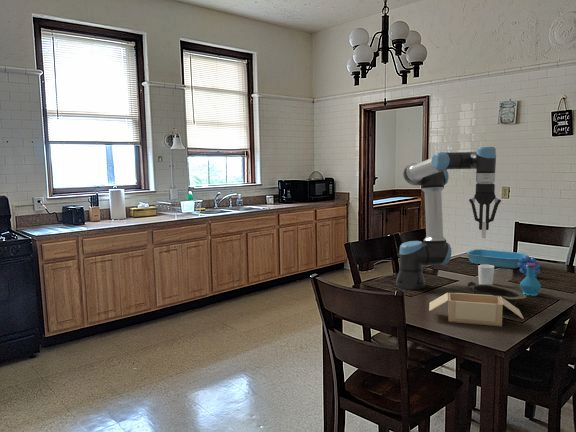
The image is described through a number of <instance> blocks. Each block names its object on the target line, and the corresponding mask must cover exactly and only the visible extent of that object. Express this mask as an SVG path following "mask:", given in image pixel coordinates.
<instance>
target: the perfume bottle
mask: <svg viewBox="0 0 576 432" xmlns="http://www.w3.org/2000/svg"><path fill="white" fill-rule="evenodd" d="M526 265H527V276H526V275H525V276H524V278H523V280H522V281H521V282H520V283H519V287H520V288H521V291H522V293H523V294H526V296H530V295H531V296H533V297H534V296H535V297H536V296H538V294H539V293H540V292H539V291H540V290H541V288H542V284H541V283H540V281H539V280H538V278H537V276H536V277H535V268H536V267H535V266H537V265H536V264H534V263H527V264H526Z"/></svg>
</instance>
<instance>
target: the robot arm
mask: <svg viewBox="0 0 576 432" xmlns="http://www.w3.org/2000/svg"><path fill="white" fill-rule="evenodd" d="M496 162H497V149H496V147H494V146H478V147H477V149H476V151H462V152H459V151H458V152H453V151H452V152H449V151H448V152H445V151H441V152H436V153H434V154H433V155H432V157H431V158H429V159H425V160H423V161H420V162H413V163H410V164H409V165H407V166H405V168H404V169H403V173H402V175H403V179H404V180H405V182H407V183H408V184H410V185H411V186H417V187H418V186H420V187H421V190H422V191H423V193H424V212H425V213H424V214H425V215H424V216H425V233H426V234H425V238H424V239H423V241H420V240H410V241H406V242H403V243H401V244H400V246H399V252H398V254H399V268H398V269H399V271H398V273H397V277H396V280H395V286H396V287H397V288H400V289H405V290H423V289H425V288H426V280H425V278H424V274H423V267H425V266H441V265H446V264H448V263H449V261H450V260H451V258H452V247H451V245H450V243H449V242H447V239H446V237H444V229H443V228H444V226H443V225H444V224H443V223H444V221H443V203H442V202H443V200H442V197H443V196H442V195H443V194H442V192H443V190H444V189H445V185H447V183H448V182H449V172H448V170H475V182H476V184H475V194H474V197H471V198H469V199H468V201H469V204H470V205H471V208H472V209H471V210H472V214H473V218H474V221H475V222H478V230H479V231H481V235H480V236H481V238H482V239H486V236H487V231H489V229H490V226H489V225H490V223H492V222H494V221H495V217H496V214H497V210H498V207H499V205H500V204H501V202H502V200H501V198H498V197H497V196H496V194H495V193H496V192H495V190H496V189H495V188H496V184H495V183H496V165H497V163H496ZM493 201H494V205H493V209H492V212H491V214H490V209H491V208H490V207H491V204H492V202H493ZM476 202H477V203H478V204H479V213H477V209H476V204H475V203H476ZM484 205H485V221H483V218H484V214H483V213H484ZM478 214H479V215H478Z"/></svg>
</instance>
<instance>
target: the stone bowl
mask: <svg viewBox="0 0 576 432" xmlns="http://www.w3.org/2000/svg"><path fill="white" fill-rule="evenodd" d="M465 288H466V289H468V290H471V291H473V292H472V294H481V295H492V296H499V297H500V296H501V297H502V298H504V299H505V300H506V301H508V302H509V303H511V304H512V305H513V306H515V307H516V305H517V304H518V302H519V299H521V300H523V299H526V298H527V295H525V294H523V292H521V291H518V290H515V289H512V288H509V287H508V288H507V287H505V286H499V285H494V284H493V285H490V284H479V283H476V282H473V281H470V282H468V283H467V286H466V287H465ZM500 300H501V299H500ZM501 302H502V301H501ZM502 304H503V303H502ZM505 310H507V311H510V309H508V308H507V307H506V306H504V305H503V311H505Z"/></svg>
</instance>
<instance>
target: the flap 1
mask: <svg viewBox="0 0 576 432" xmlns="http://www.w3.org/2000/svg"><path fill="white" fill-rule="evenodd" d="M448 293H449V292H446V293H444V294H443V295H441V296H438V297H437V298H435V299H434V300H432V301H429V304H428V305H429V308H428V311H429V312H432V311H433V310H435V309H437V308H439V307H441V306H442V305H444V304H445V303H448V301H449V298H448Z"/></svg>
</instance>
